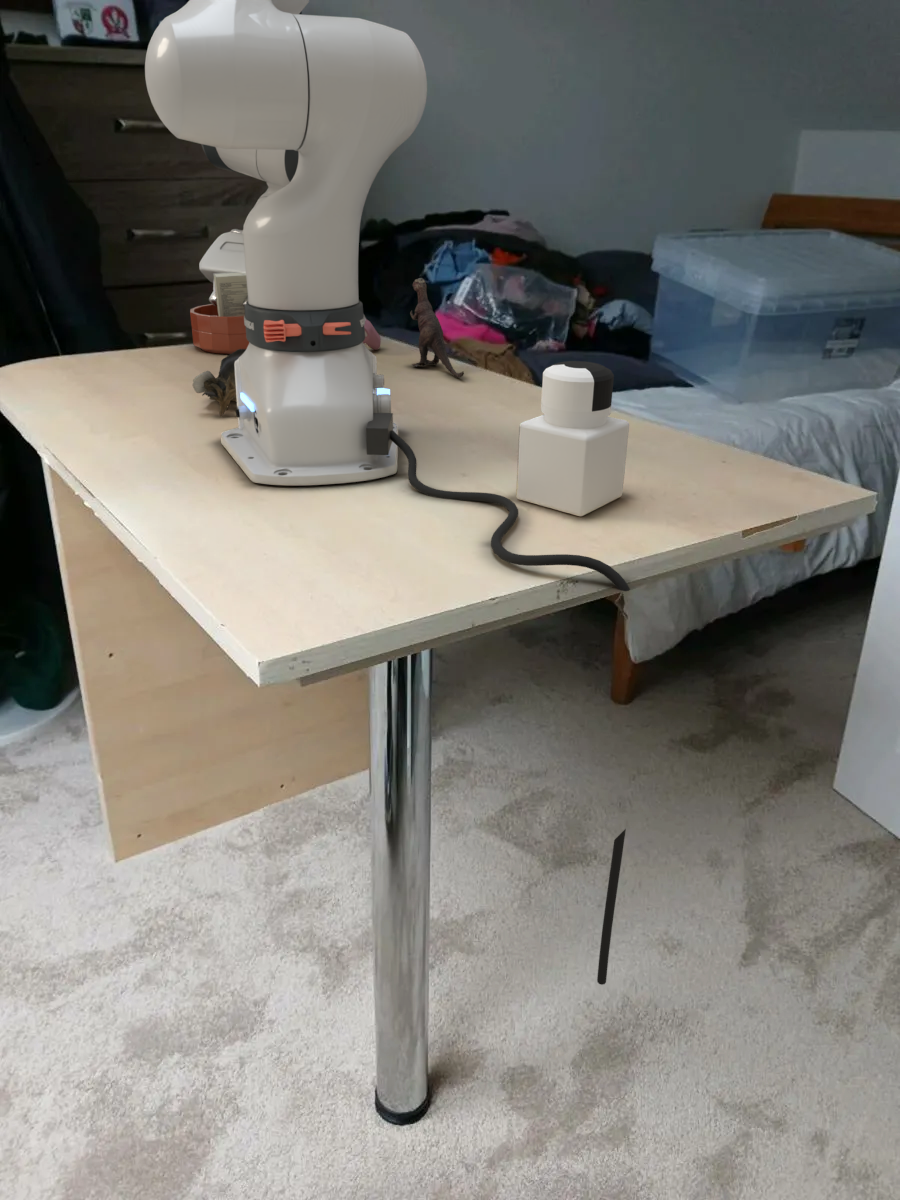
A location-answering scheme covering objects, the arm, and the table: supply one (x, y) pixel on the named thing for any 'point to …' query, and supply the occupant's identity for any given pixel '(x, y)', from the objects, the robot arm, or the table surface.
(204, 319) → the bowl
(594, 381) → the medicine bottle
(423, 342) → the dinosaur model
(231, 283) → the printed carton
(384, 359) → the table surface
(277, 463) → the robot arm
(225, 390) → the eagle figurine
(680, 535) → the table surface
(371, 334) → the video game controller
